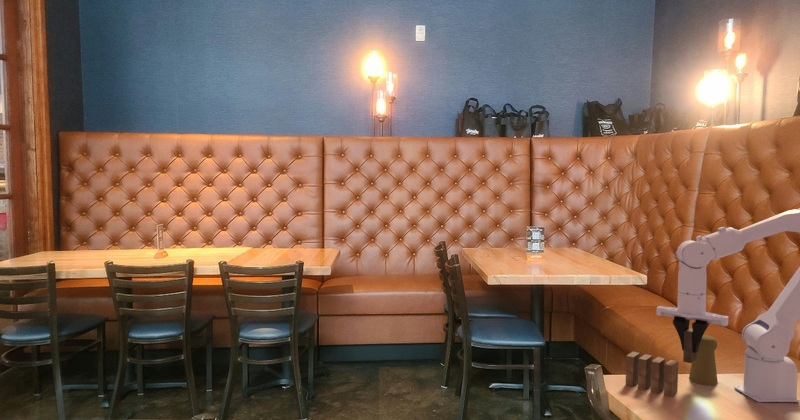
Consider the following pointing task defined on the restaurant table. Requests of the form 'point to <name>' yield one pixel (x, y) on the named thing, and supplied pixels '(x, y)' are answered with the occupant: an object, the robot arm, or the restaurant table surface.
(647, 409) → the restaurant table surface
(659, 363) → the tile
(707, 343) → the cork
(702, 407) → the restaurant table surface
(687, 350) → the tile
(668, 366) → the tile
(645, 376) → the tile
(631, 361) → the tile
